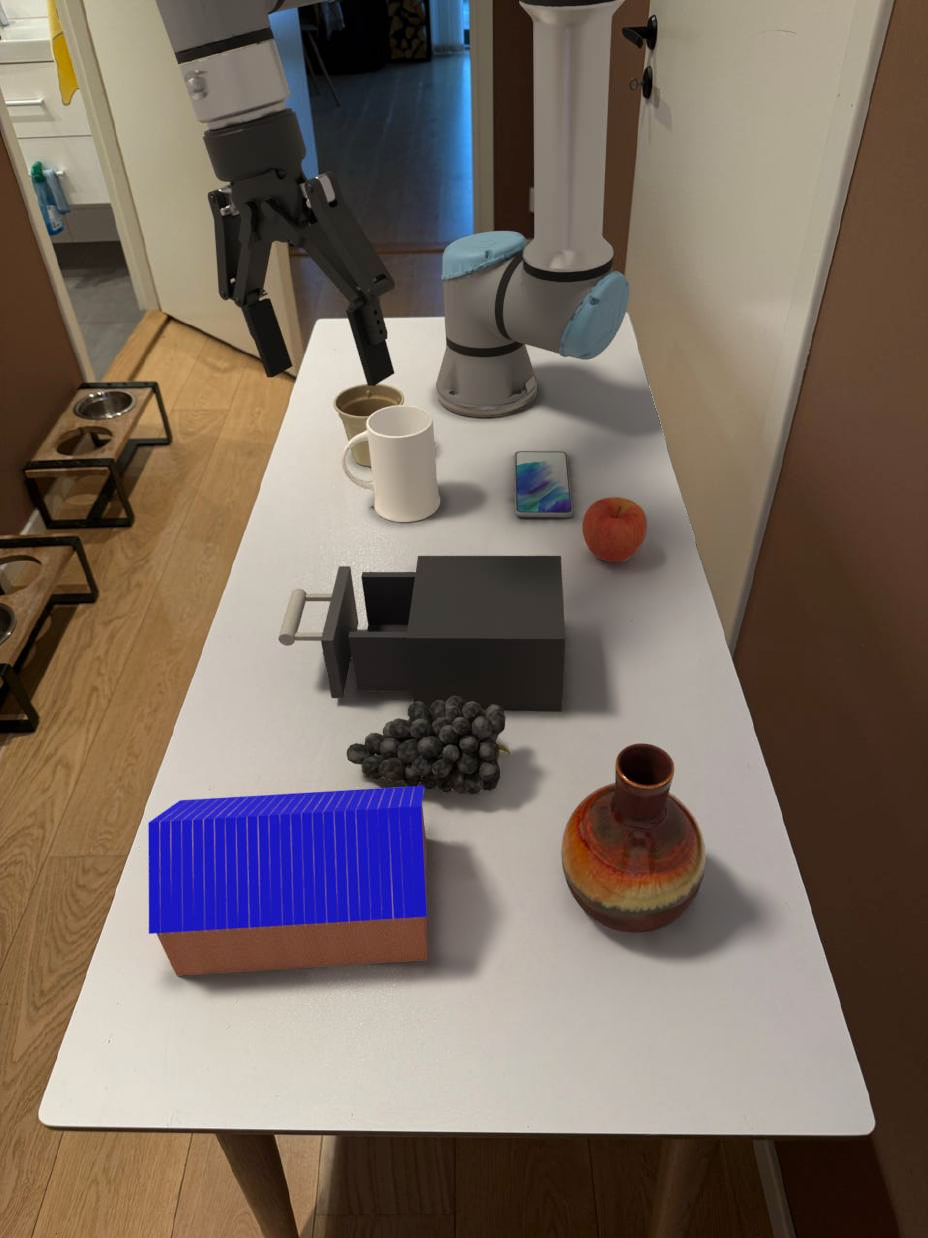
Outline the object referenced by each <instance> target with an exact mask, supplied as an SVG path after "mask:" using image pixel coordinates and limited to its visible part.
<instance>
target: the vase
mask: <svg viewBox="0 0 928 1238" xmlns="http://www.w3.org/2000/svg"><path fill="white" fill-rule="evenodd" d="M614 766H615V768H614V772H615V773H614V777H615V782H612V783H609V784H606V785H603V786H602V787H599V788H597V789H596V790H594V791H592V792H590V794H587V796H586V797H585V798H583V799H582V800H581V802H579V804H578V805H577V806H576V808H575V809H574V810H573V811H572V813H571V814H570V817H569V818H568V820H567V821H566V825H565V828H564V831H563V834H562V839H561V849H560V850H561V851H560V856H561V867H562V872H563V875H564V879H565V882H566V884H567V887H568V889H569V891H570V894H571V895H572V897H573V899H574V900H575V902H576V904H578V905H579V908H581V909H582V910H583V912H585V913H586V915H587V916H589V917H590V918H592V920H594V921H595V922H597V923H599V924H600V925H602V926H604V927H606V928H608V929H611V930H614V931H618V932H622V933H629V934H643V933H650V932H654V931H657V930H660V929H662V928H663V929H664V928H665V927H666V926H669V925H670V924H672V923H674V921H675V920H677V919H679V918H680V917H681V916H682V915H683V914H684V913H685V912H686V910H688V908H689V907H690V906H691V905H692V903H693V902H694V899H695V898H696V896H697V895H698V893H699V891H700V888H701V886H702V883H703V880H704V876H705V871H706V865H707V864H706V863H707V857H706V855H707V854H706V845H705V840H704V836H703V833H702V831H701V827H700V825H699V823H698V821H697V820H696V818H695V816H694V815H693V813H692V812H691V810H690V808H688V807H687V806H686V805H685V803H684V802H682V801H681V800H680V799H679V798H678V797H677V796H676V795H675V794H673V793H671V792H670V790H671V786H672V783H673V779H674V776H675V763H674V760H673V758H672V757H671V755H670V754H669V752H666V750H665V749H663V748H661V747H659V746H657V745H654V744H650V743H644V742H643V743H642V742H639V743H633V744H630V745H628V746H625V747H623V749H622V750H620V752H618V754H617V757H616V759H615V765H614Z"/></svg>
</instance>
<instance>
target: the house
mask: <svg viewBox="0 0 928 1238" xmlns="http://www.w3.org/2000/svg"><path fill="white" fill-rule="evenodd" d="M424 791H425V788H424V786H422V785H418V786H411V787H408V786H396V787H394V786H393V787H380V788H366V789H365V788H363V789H344V790H332V791H331V790H329V791H312V792H311V791H310V792H296V793H295V792H294V793H279V794H278V793H277V794H262V795H261V794H260V795H245V796H244V795H243V796H230V797H229V796H227V797H226V796H225V797H210V798H195V799H180V800H178V801H177V802H175V803H174V804H172V805H171V806H170V807H168V808H167V809H166V810H164V811H162V812H161V813H160V814H158V815H157V816H156V817H155V818H153V819H152V820H149V821H148V822H147V823H148V830H147V831H148V935H149V934H150V935H152V934H156V935H157V938H158V940H159V942H160V944H161V946H162V949H163V950H164V952H165V953H164V954H165V955H166V957H167V959H168V961H169V963H170V965H171V967H172V969H173V971H174V973H175V976H176V977H179V976H194V975H195V976H196V975H210V974H211V975H213V974H228V973H243V972H260V971H276V970H292V969H293V970H294V969H308V968H323V967H324V968H325V967H340V966H355V965H357V966H359V965H372V964H373V965H374V964H388V963H389V964H391V963H403V962H421V961H429V952H428V951H429V949H428V948H429V944H428V894H427V891H428V889H427V888H428V887H427V885H428V884H427V837H426V829H425V819H424V809H423V800H424V799H423V798H424V793H425V792H424Z"/></svg>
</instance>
